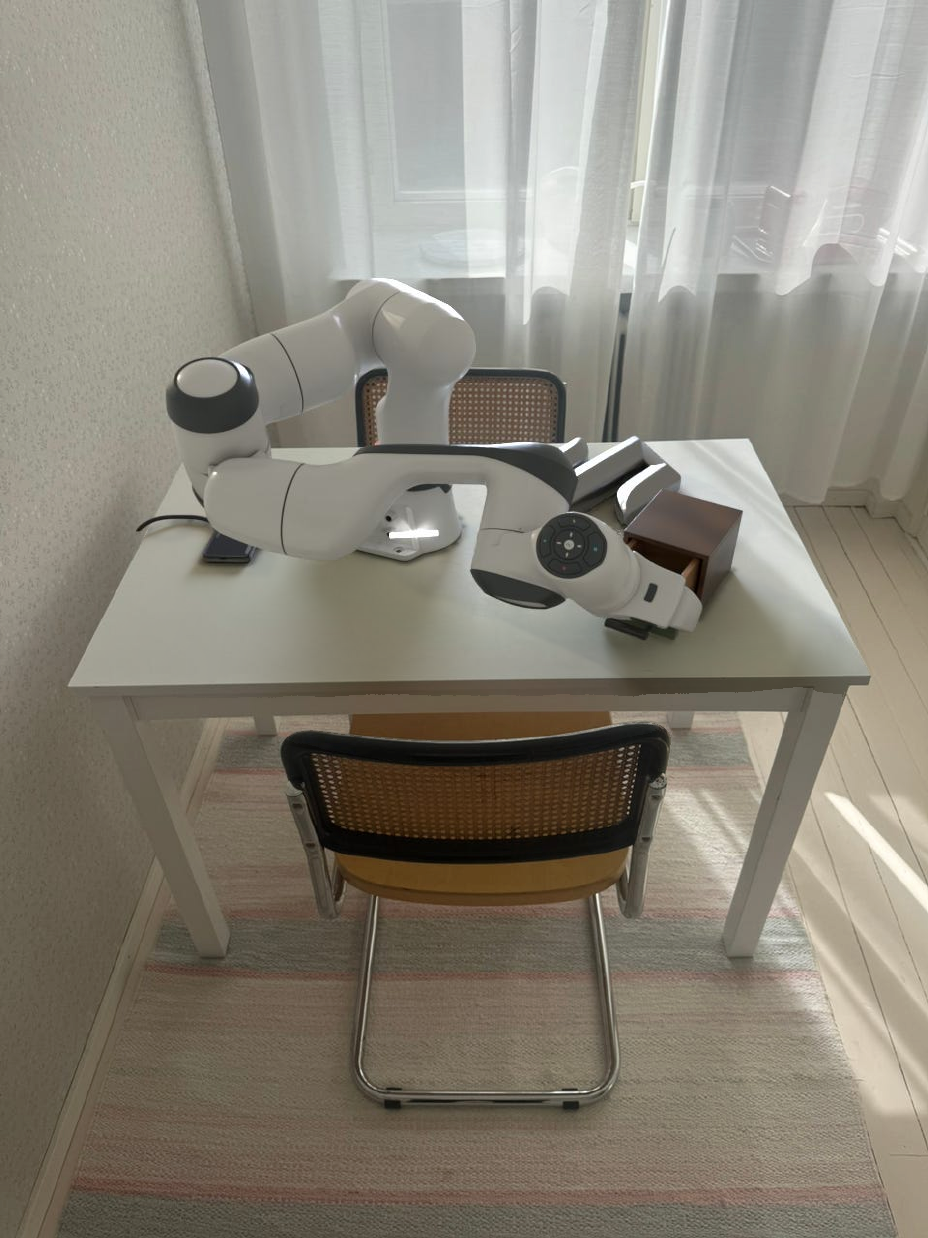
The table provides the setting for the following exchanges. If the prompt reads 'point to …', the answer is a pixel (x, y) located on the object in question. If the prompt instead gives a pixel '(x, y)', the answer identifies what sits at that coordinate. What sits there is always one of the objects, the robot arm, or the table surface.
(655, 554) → the green drawer
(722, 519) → the cabinet
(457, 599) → the table surface
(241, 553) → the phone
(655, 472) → the emblem
